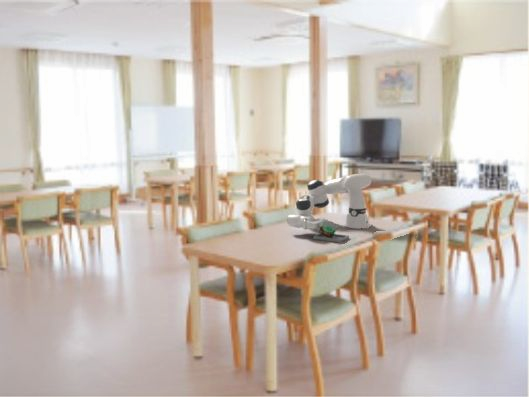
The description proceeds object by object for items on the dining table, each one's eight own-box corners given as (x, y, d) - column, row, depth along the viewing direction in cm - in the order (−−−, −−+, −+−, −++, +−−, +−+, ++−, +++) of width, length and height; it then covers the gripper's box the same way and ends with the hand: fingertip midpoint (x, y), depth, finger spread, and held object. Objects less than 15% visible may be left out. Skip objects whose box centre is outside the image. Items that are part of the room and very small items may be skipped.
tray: (322, 235, 363) (322, 232, 362) (349, 238, 353) (349, 235, 353) (313, 239, 350) (313, 236, 350) (340, 242, 340) (340, 239, 340)
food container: (318, 234, 347) (324, 220, 344) (317, 231, 352) (322, 217, 350) (336, 240, 349) (342, 226, 346) (334, 237, 355) (339, 223, 352)
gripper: (316, 224, 367) (334, 226, 360) (302, 229, 350) (321, 232, 343) (316, 215, 367) (334, 217, 359) (302, 220, 349) (321, 222, 342)
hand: (328, 224), depth 351 cm, fingers open, 2 cm apart
